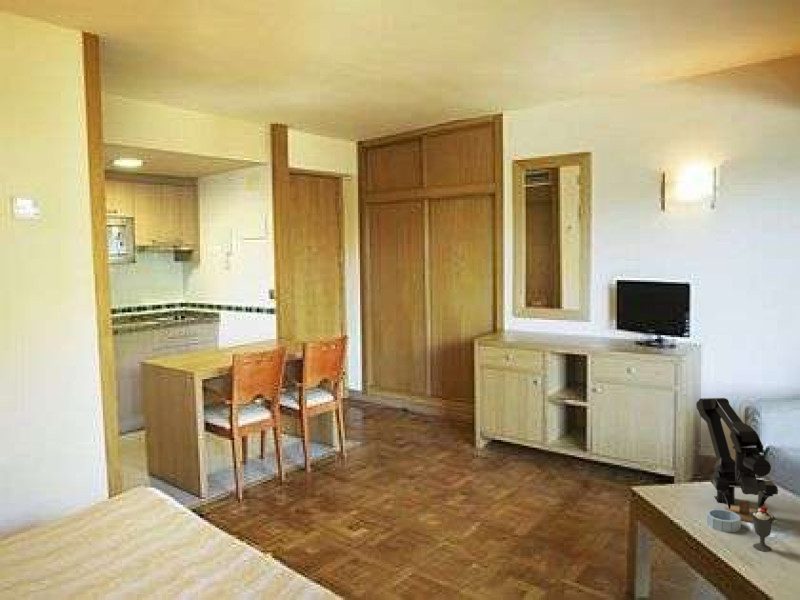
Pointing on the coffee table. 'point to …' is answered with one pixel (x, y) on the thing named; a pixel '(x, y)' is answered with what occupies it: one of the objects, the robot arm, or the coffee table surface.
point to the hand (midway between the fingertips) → (744, 509)
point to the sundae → (762, 526)
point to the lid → (743, 510)
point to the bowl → (723, 520)
